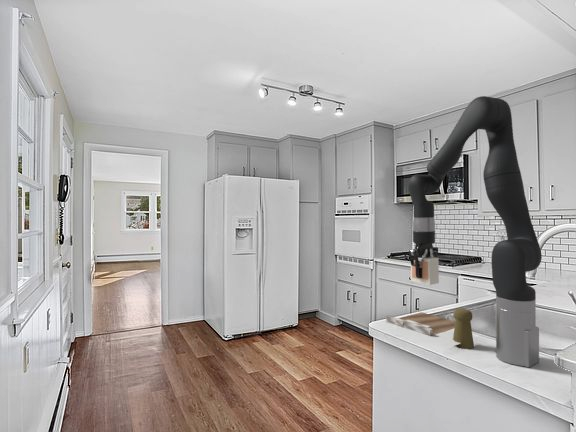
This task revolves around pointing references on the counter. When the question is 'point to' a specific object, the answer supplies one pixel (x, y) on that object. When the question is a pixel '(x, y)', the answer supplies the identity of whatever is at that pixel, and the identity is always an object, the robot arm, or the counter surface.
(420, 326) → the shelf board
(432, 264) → the carton
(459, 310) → the olive knobbed cone
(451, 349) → the counter surface
